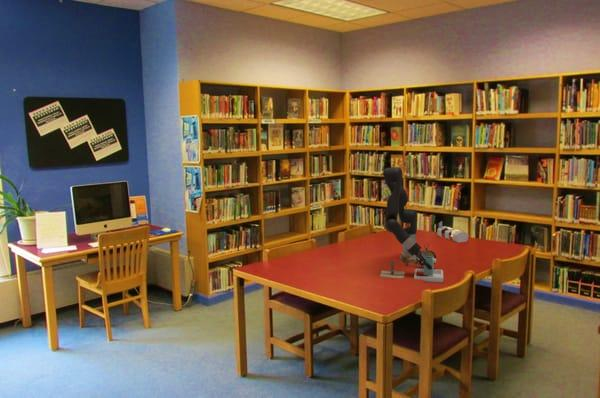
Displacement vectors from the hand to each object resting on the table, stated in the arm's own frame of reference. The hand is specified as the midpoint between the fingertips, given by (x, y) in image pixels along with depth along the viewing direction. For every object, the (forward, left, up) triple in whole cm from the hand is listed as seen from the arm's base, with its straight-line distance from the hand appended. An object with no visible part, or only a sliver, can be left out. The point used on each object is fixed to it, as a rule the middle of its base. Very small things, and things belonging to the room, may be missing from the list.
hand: (431, 267), depth 289 cm
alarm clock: (-20, -3, -7) cm, 21 cm away
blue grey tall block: (0, -2, -4) cm, 5 cm away
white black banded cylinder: (-106, +15, -7) cm, 107 cm away
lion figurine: (-20, -13, -7) cm, 25 cm away
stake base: (0, -23, -7) cm, 24 cm away
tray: (0, -2, -7) cm, 7 cm away
